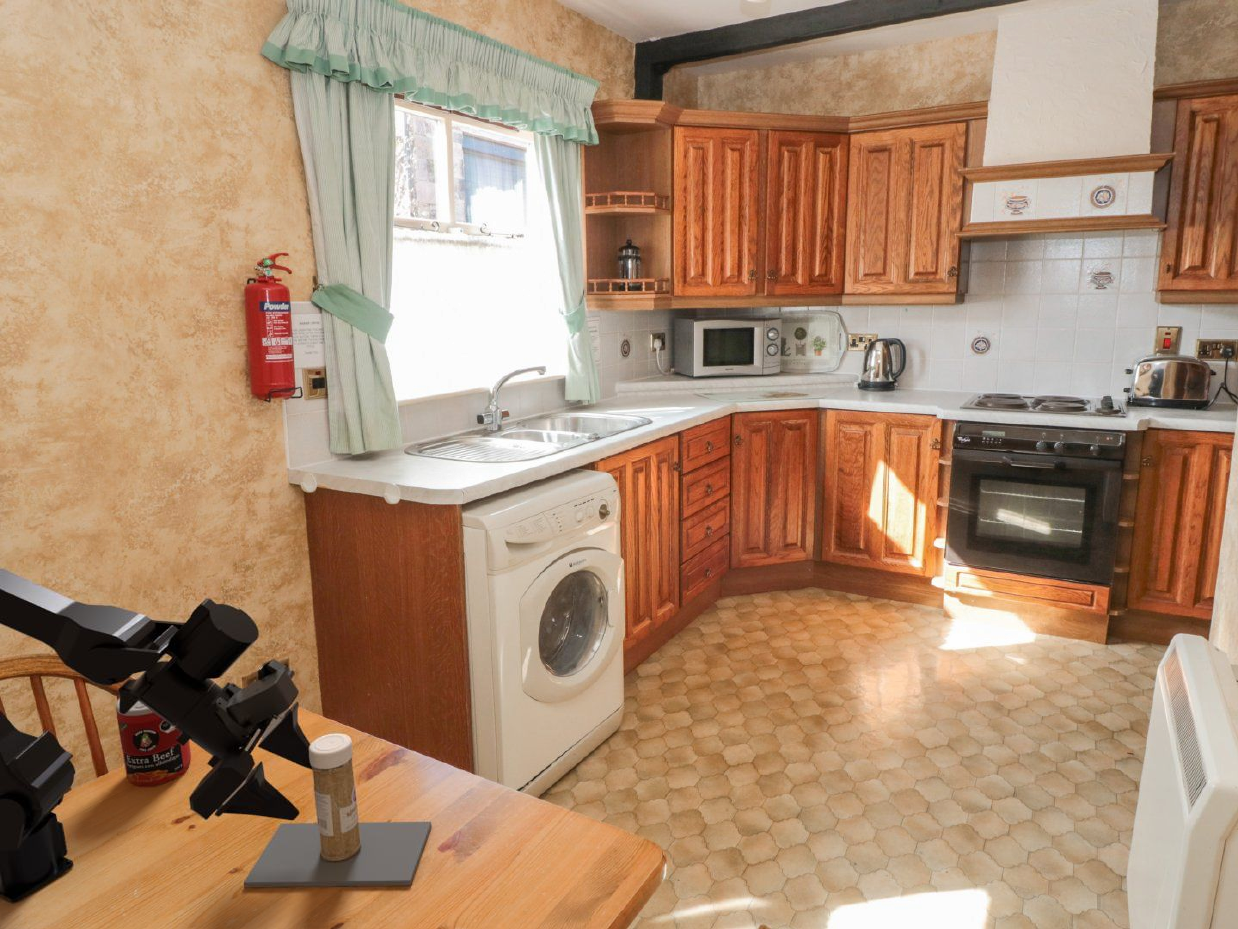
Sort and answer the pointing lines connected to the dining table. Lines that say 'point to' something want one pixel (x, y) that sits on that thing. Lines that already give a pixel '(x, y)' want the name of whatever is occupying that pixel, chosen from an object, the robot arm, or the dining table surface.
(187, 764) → the canned food
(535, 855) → the dining table surface
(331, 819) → the spice jar
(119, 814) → the dining table surface
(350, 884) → the charcoal mat
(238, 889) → the dining table surface
